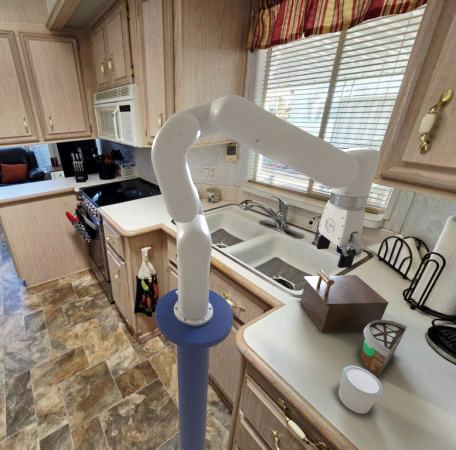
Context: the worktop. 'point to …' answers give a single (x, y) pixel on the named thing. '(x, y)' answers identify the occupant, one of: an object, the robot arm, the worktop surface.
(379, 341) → the food container
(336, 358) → the worktop surface
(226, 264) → the worktop surface
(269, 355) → the worktop surface
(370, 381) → the white tapered cup
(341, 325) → the chest
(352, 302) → the chest lid
